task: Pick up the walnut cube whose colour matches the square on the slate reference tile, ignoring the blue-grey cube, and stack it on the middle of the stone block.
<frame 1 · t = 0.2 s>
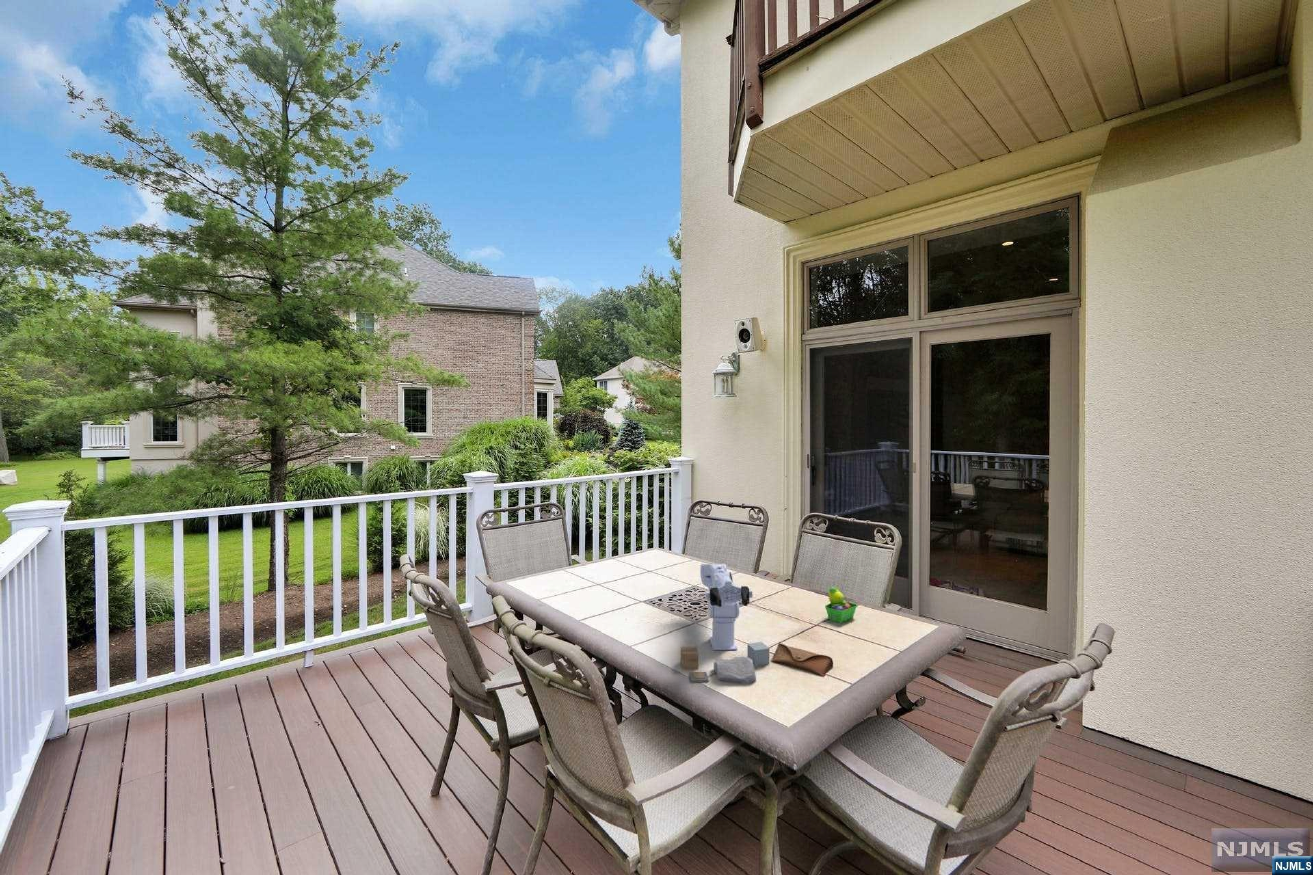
hand: (733, 603, 156), 21 cm above the table, tool horizontal, fingers open, 7 cm apart
fruit basket: (839, 618, 201), on the table
stone block: (735, 677, 155), on the table
sunglasses case: (800, 665, 162), on the table
walnut cube: (689, 665, 161), on the table
reference tile: (698, 677, 153), on the table
blue-grey cube: (758, 661, 164), on the table
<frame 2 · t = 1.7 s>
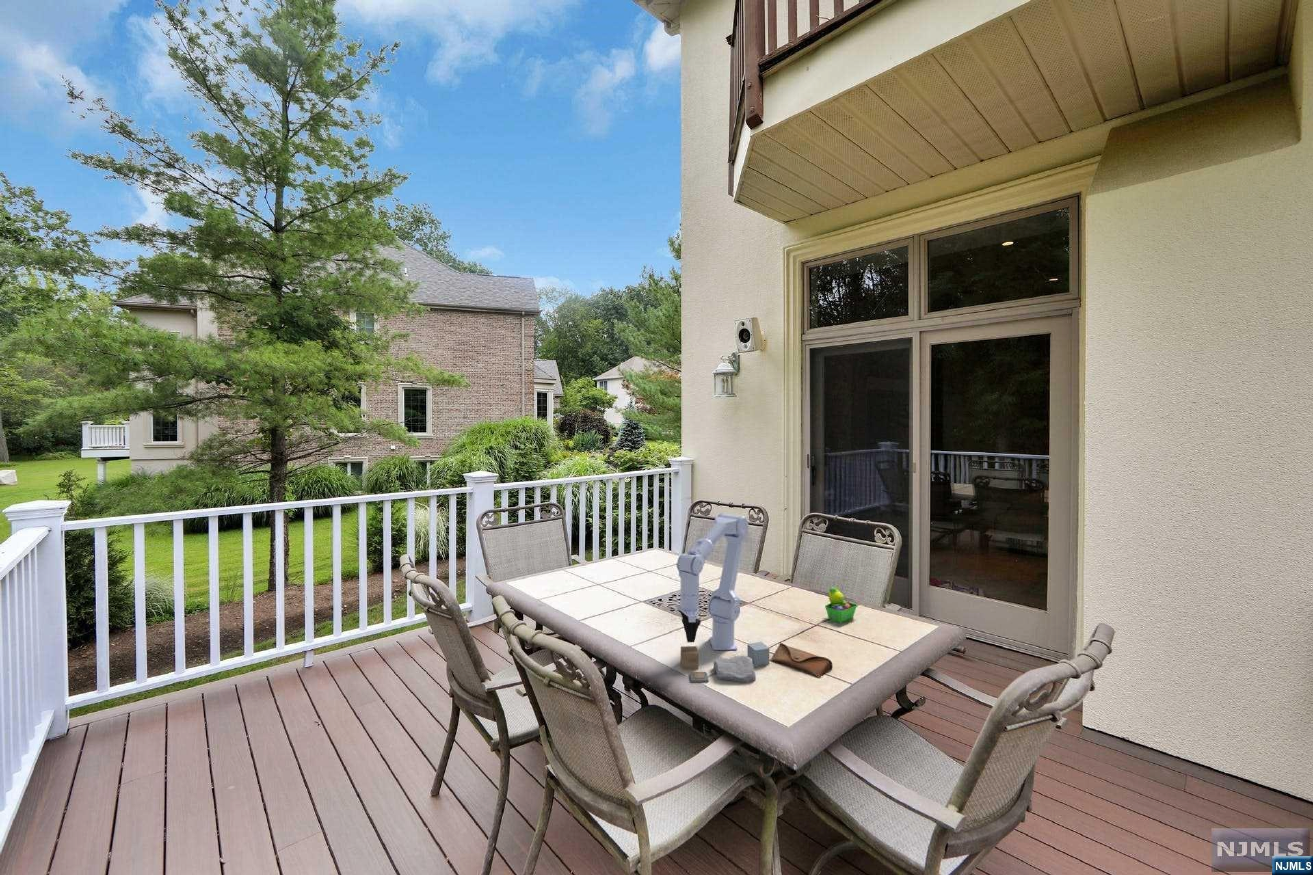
hand: (689, 636, 161), 9 cm above the table, tool pointing down, fingers open, 7 cm apart
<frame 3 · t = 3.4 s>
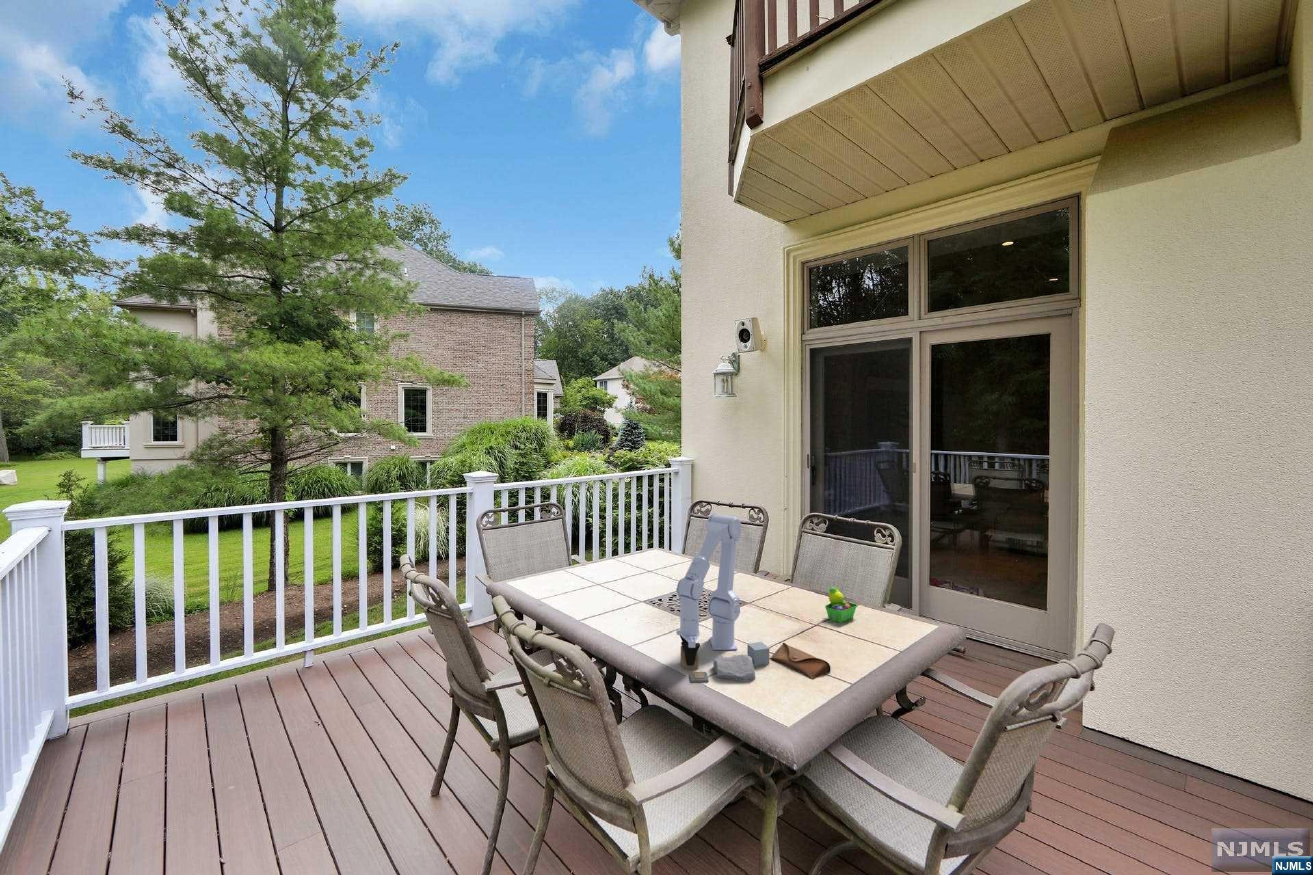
hand: (689, 660, 161), 1 cm above the table, tool pointing down, fingers closed on walnut cube, 5 cm apart
walnut cube: (689, 665, 161), on the table, touching gripper
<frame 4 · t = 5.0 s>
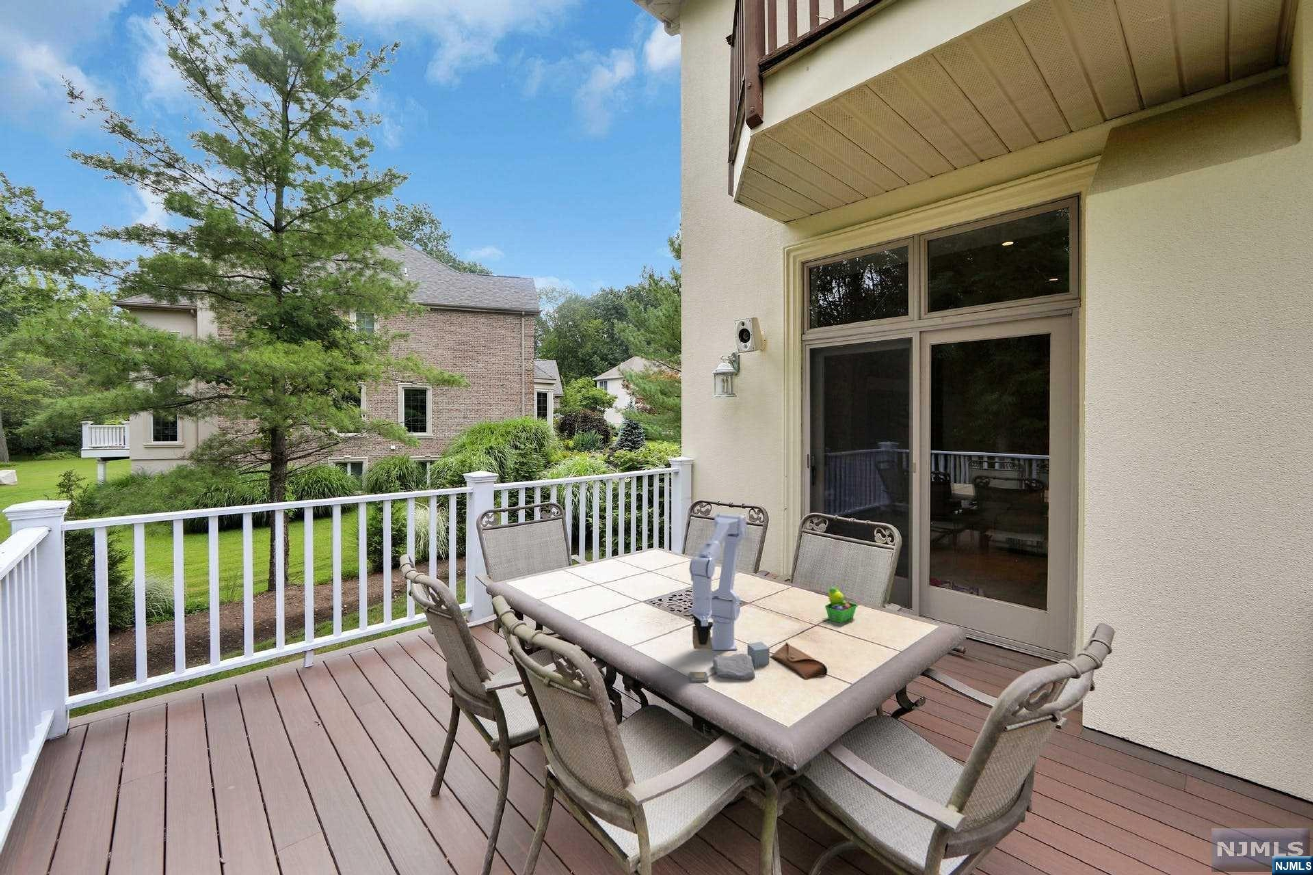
hand: (701, 640, 160), 8 cm above the table, tool pointing down, fingers closed on walnut cube, 5 cm apart
walnut cube: (701, 645, 160), point 7 cm above the table, touching gripper
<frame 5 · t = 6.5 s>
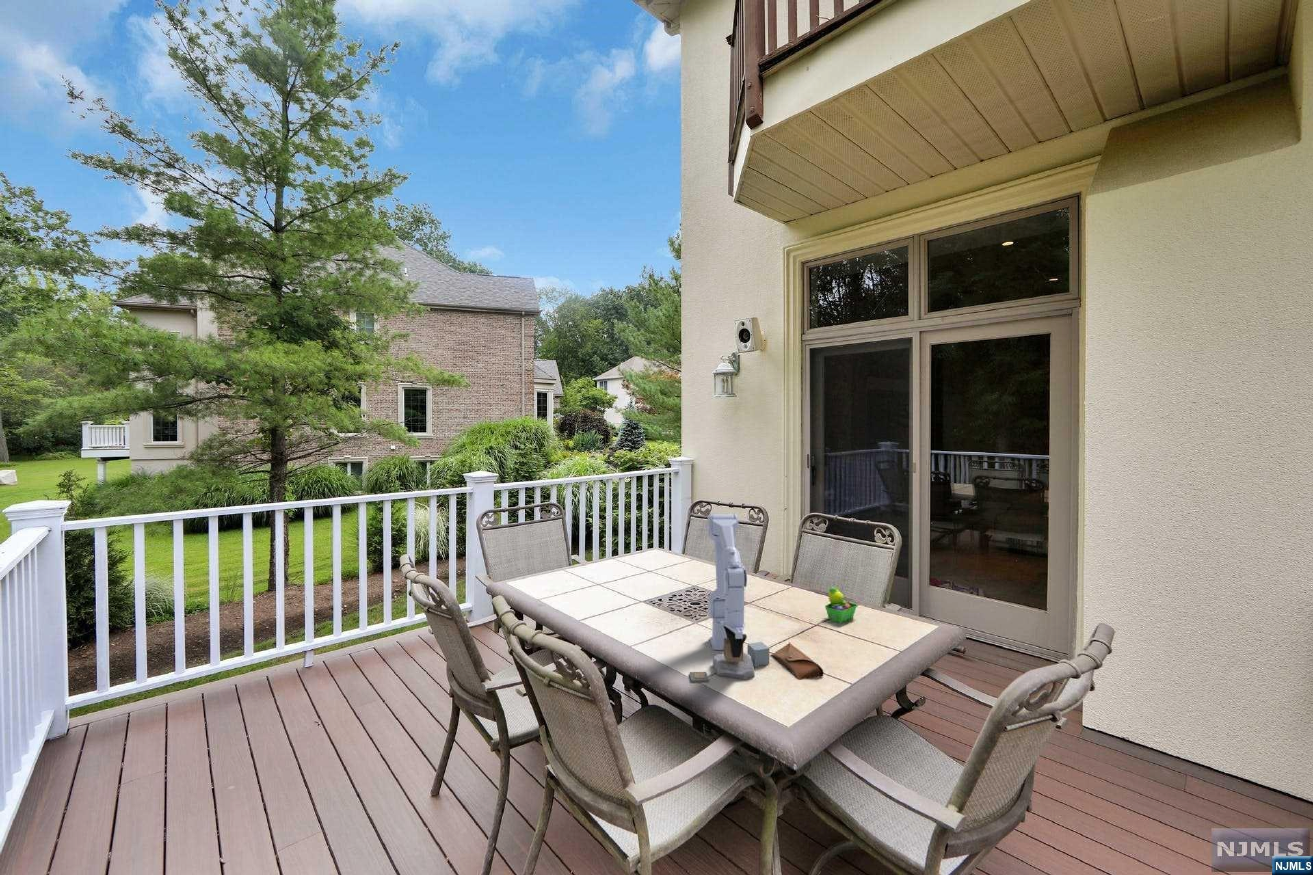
hand: (734, 652, 156), 6 cm above the table, tool pointing down, fingers closed on walnut cube, 5 cm apart
walnut cube: (733, 657, 156), point 4 cm above the table, touching gripper
when the fingers open (6 cm above the table, at t = 7.0 s): walnut cube moves 1 cm, resting on stone block.
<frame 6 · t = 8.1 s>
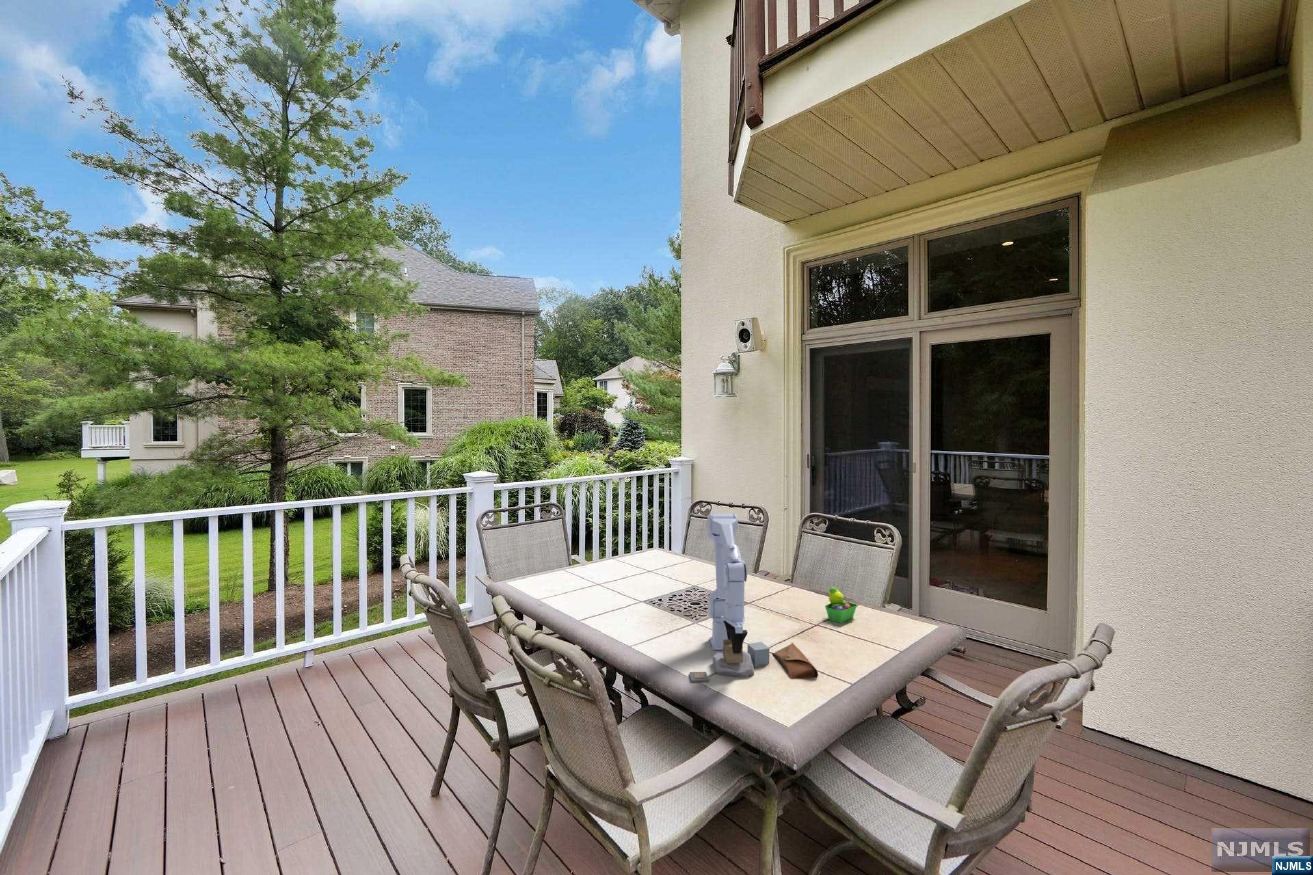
hand: (734, 647, 156), 8 cm above the table, tool pointing down, fingers open, 7 cm apart
stone block: (734, 671, 158), on the table, touching walnut cube
walnut cube: (732, 659, 158), point 4 cm above the table, touching gripper, stone block
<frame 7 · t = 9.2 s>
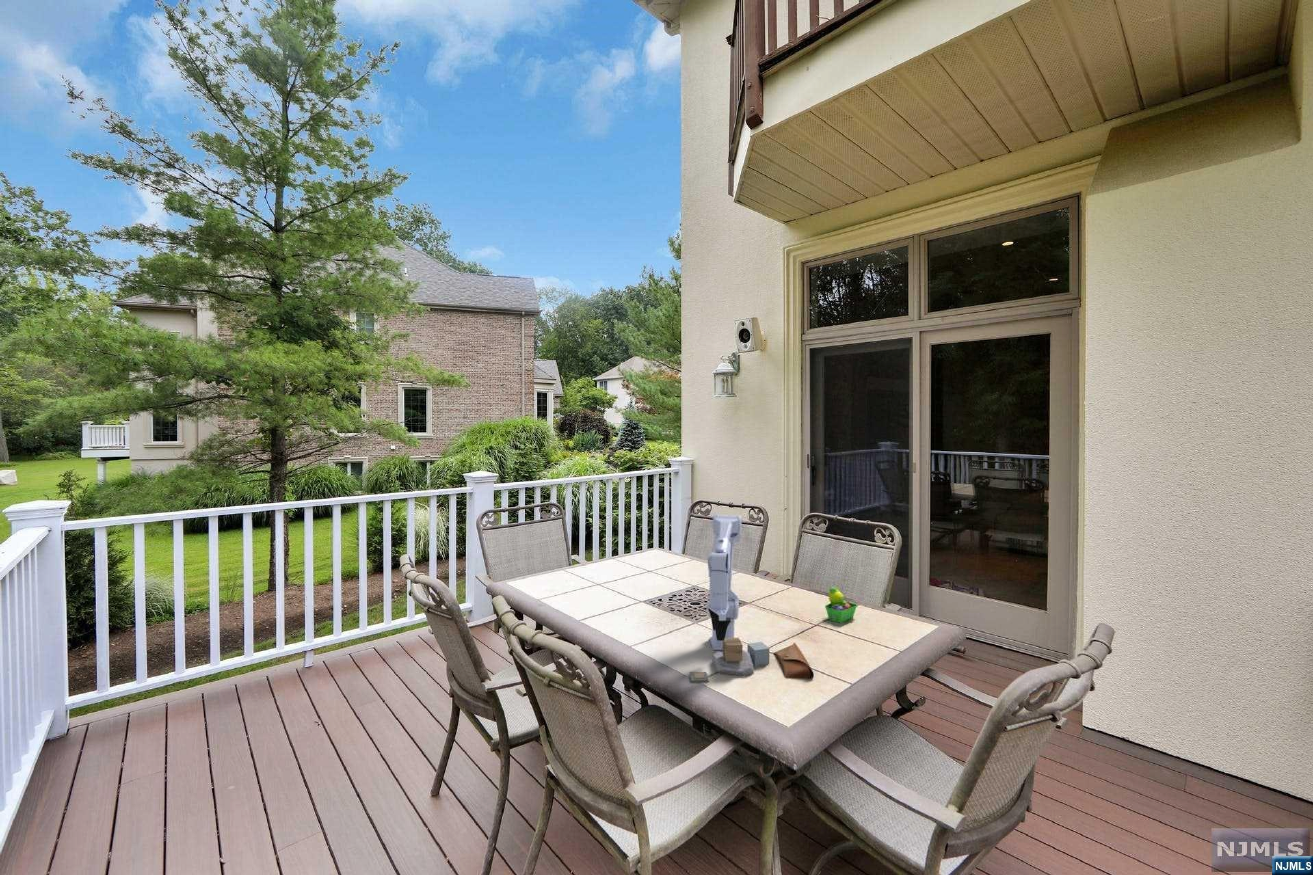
hand: (718, 634, 161), 9 cm above the table, tool pointing down, fingers open, 7 cm apart
walnut cube: (732, 657, 159), point 4 cm above the table, touching stone block
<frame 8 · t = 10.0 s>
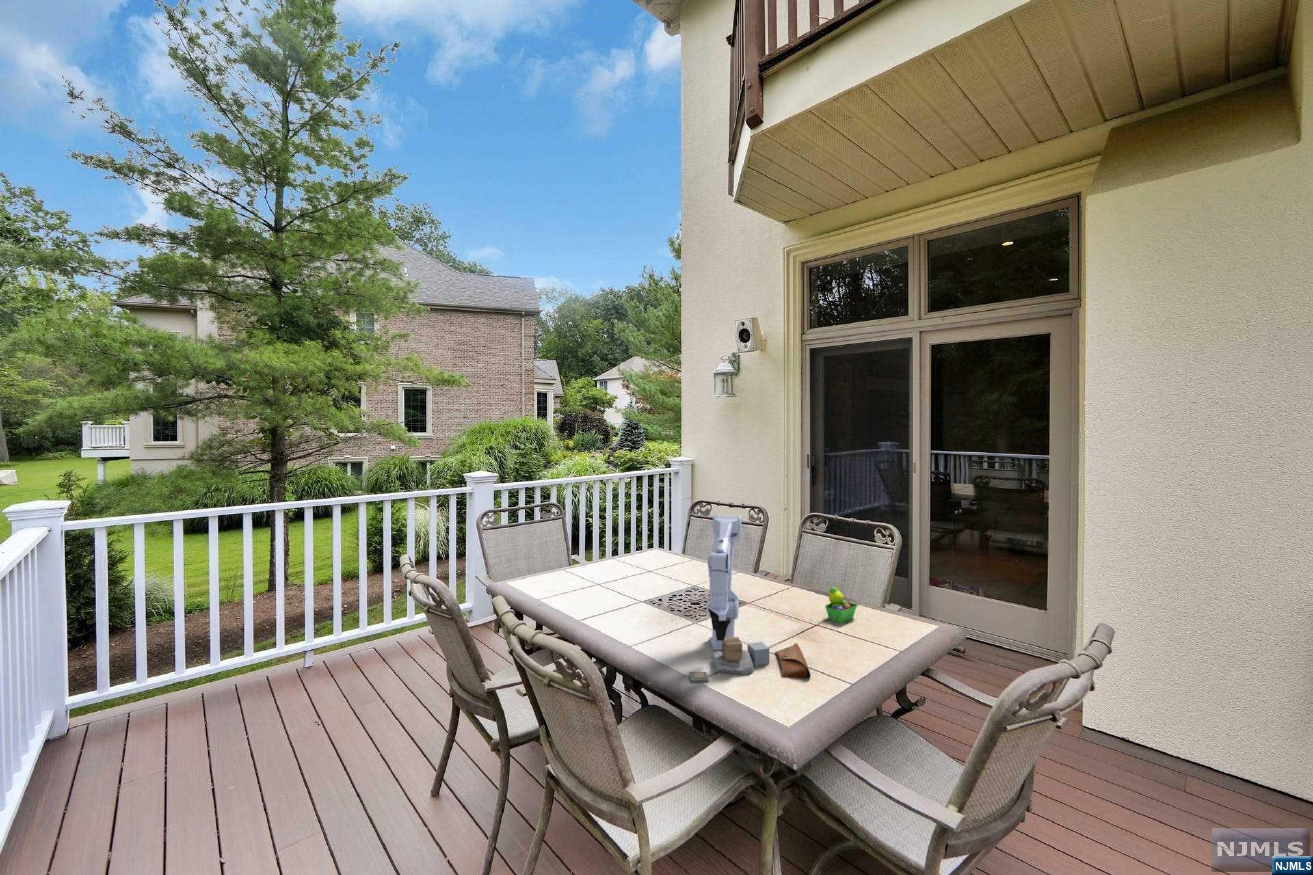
hand: (718, 634, 161), 9 cm above the table, tool pointing down, fingers open, 7 cm apart
at the end: walnut cube inside the target area on the stone block (0.5 cm from its centre), point 4.1 cm above the stone block's base; walnut cube tilted 0°; the gripper is holding nothing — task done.
